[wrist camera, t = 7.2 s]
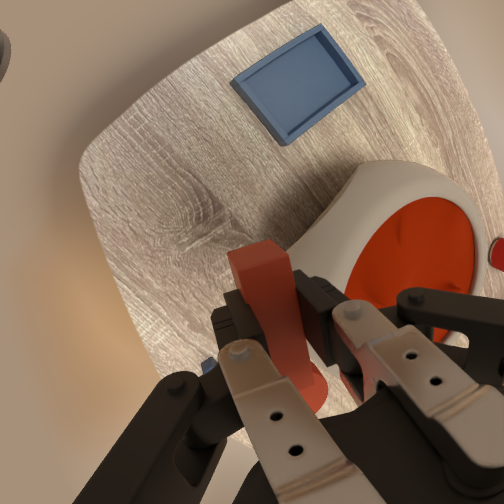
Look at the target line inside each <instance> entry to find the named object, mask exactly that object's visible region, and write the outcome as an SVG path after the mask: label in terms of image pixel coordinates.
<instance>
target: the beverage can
mask: <svg viewBox="0 0 504 504" xmlns="http://www.w3.org/2000/svg"><path fill="white" fill-rule="evenodd" d="M489 257H490V261H491V264H492V266H493V267H494V268H496V269H499V270H501V271H503V272H504V239H503V238H500V239H498V240H497V241H495V242H494V243H493V245H492V247H491V250H490V255H489Z"/></svg>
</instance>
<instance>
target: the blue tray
mask: <svg viewBox="0 0 504 504" xmlns="http://www.w3.org/2000/svg"><path fill="white" fill-rule="evenodd" d="M230 84H231V85H232V87H233V88H234V89H235V90H236V91H237V93H238V94H239V95H240V96H241V97H242V99H243V100H244V101H245V102H246V103H247V105H248V106H249V107H250V108H251V109H252V111H253V112H254V113H255V114H256V116H257V117H258V118H259V119H260V121H261V122H262V123H263V124H264V126H265V127H266V128H267V129H268V131H269V132H270V133H271V134H272V136H273V137H274V138H275V140H276V141H277V142H278V143H279V145H280V146H288V145H289V144H290V143H292V142H293V141H294V140H295V139H297V138H298V137H299V136H300V135H302V134H303V133H304V132H305V131H307V130H308V129H309V128H311V127H312V126H313V125H314V124H316V123H317V122H318V121H319V120H321V119H322V118H323V117H325V116H326V115H327V114H328V113H330V112H331V111H332V110H334V109H335V108H336V107H337V106H339V105H340V104H341V103H343V102H344V101H345V100H347V99H348V98H349V97H351V96H352V95H353V94H355V93H356V92H357V91H359V90H360V89H361V88H363V87H364V86H365V85H366V83H365V82H364V80H363V79H362V77H361V76H360V74H359V73H358V72H357V70H356V69H355V67H354V66H353V64H352V63H351V62H350V60H349V59H348V57H347V56H346V55H345V53H344V52H343V51H342V49H341V48H340V47H339V45H338V44H337V43H336V41H335V40H334V39H333V38H332V36H331V35H330V34H329V32H328V31H327V30H326V29H325V27H324V26H323V25H322V24H319V25H317V26H315V27H313V28H312V29H310V30H308V31H306V32H305V33H303V34H301V35H300V36H298V37H296V38H295V39H293V40H291V41H290V42H288V43H286V44H285V45H283V46H282V47H280V48H278V49H277V50H275V51H274V52H272V53H271V54H269V55H267V56H266V57H264V58H263V59H261V60H260V61H258V62H257V63H255V64H254V65H252V66H251V67H249V68H248V69H247V70H245V71H244V72H242V73H241V74H239V75H238V76H237V77H235V78H234V79H233V80H232V81H231V82H230Z"/></svg>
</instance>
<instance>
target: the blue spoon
mask: <svg viewBox="0 0 504 504" xmlns="http://www.w3.org/2000/svg"><path fill="white" fill-rule="evenodd" d="M216 364H217V362H216V361H215V360H214V359H213V358H211V357H210V358H209V359H207V360H206V361H205V362H203V363H202V364H201V367H202V371H203V374H205V373H207V372H209V371H210V370H211V369H213V368H214V367H215V366H216Z"/></svg>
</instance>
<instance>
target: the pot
mask: <svg viewBox="0 0 504 504" xmlns="http://www.w3.org/2000/svg"><path fill="white" fill-rule="evenodd" d="M285 252H286V253H287V254H288V255H289V257H290V262H291V266H292V271H294V270H297V269H301V270H302V271H303V272H304V273H305V274H306V275H307V276H308V277H309V278H310V277H313V276H318V277H321V278H325V279H326V280H328V281H329V282H330V283H331V284H332V285H334V286H335V287H336V288H337V289H338V290H340V291H341V292H342V293H343V294H344V295H346V296H347V297H348V298H349V299H350V300H365V301H368V302H370V303H371V304H372V305H373V306H374V307H375V308H377V309H380V308H385V307H390V306H394V305H396V297H397V295H398V294H399V293H400V292H401V291H403V290H405V289H408V288H412V287H423V288H430V289H436V290H442V291H449V292H455V293H462V294H468V295H475V296H480V295H481V291H482V288H483V284H484V280H485V275H486V268H487V237H486V231H485V227H484V223H483V220H482V217H481V214H480V212H479V210H478V208H477V206H476V204H475V202H474V201H473V199H472V198H471V197H470V196H469V194H468V193H467V192H466V191H465V190H464V189H463V188H462V187H461V186H459V185H458V184H457V183H456V182H454V181H453V180H452V179H450V178H449V177H447V176H446V175H444V174H442V173H440V172H438V171H436V170H434V169H432V168H430V167H427V166H424V165H421V164H418V163H414V162H409V161H402V160H379V161H372V162H367V163H363V164H360V165H359V166H358V167H357V168H356V170H355V171H354V172H353V174H352V175H351V177H350V178H349V180H348V181H347V182H346V184H345V185H344V186H343V188H342V189H341V190H340V192H339V193H338V194H337V195H336V197H335V198H334V199H333V200H332V202H331V203H330V204H329V205H328V207H327V208H326V209H325V210H324V211H323V213H322V214H321V215H320V216H319V217H318V219H317V220H316V221H315V222H314V223H313V224H312V226H311V227H310V228H309V229H308V230H307V231H306V232H305V233H304V235H303V236H302V237H301V238H300V239H299V240H298V241H297V242H296V243H295V244H293V245H292V246H291V247H290V248H289V249H288V250H287V251H285ZM461 334H462V333H460V332H455V331H450V330H445V329H440V328H435V327H434V339H433V342H438V343H442V344H447V345H451V346H453V345H454V343H455V342H456V341H457V339H458V338H459V337H460V335H461ZM306 341H307V340H306ZM307 346H308V351H309V356H310V358H311V359H312V360H313V361H314V362H315V363H316V364H317V365H318V366H319V367H321V368H322V369H323V370H325V371H326V372H327V373H329V374H331V375H332V376H334V377H336V378H337V379H339V380H341V378H340V374H339V366H338V365H337V364H335V365H333V366H330V367H328V368H327V367H326V366H325V364H324V363H323V361H322V360H321V359H320V357H319V356H318V355H317V353H316V352H315V351H314V349H313V348H312V346H311V345H310V344H309V342H308V341H307ZM341 381H342V380H341Z"/></svg>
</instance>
